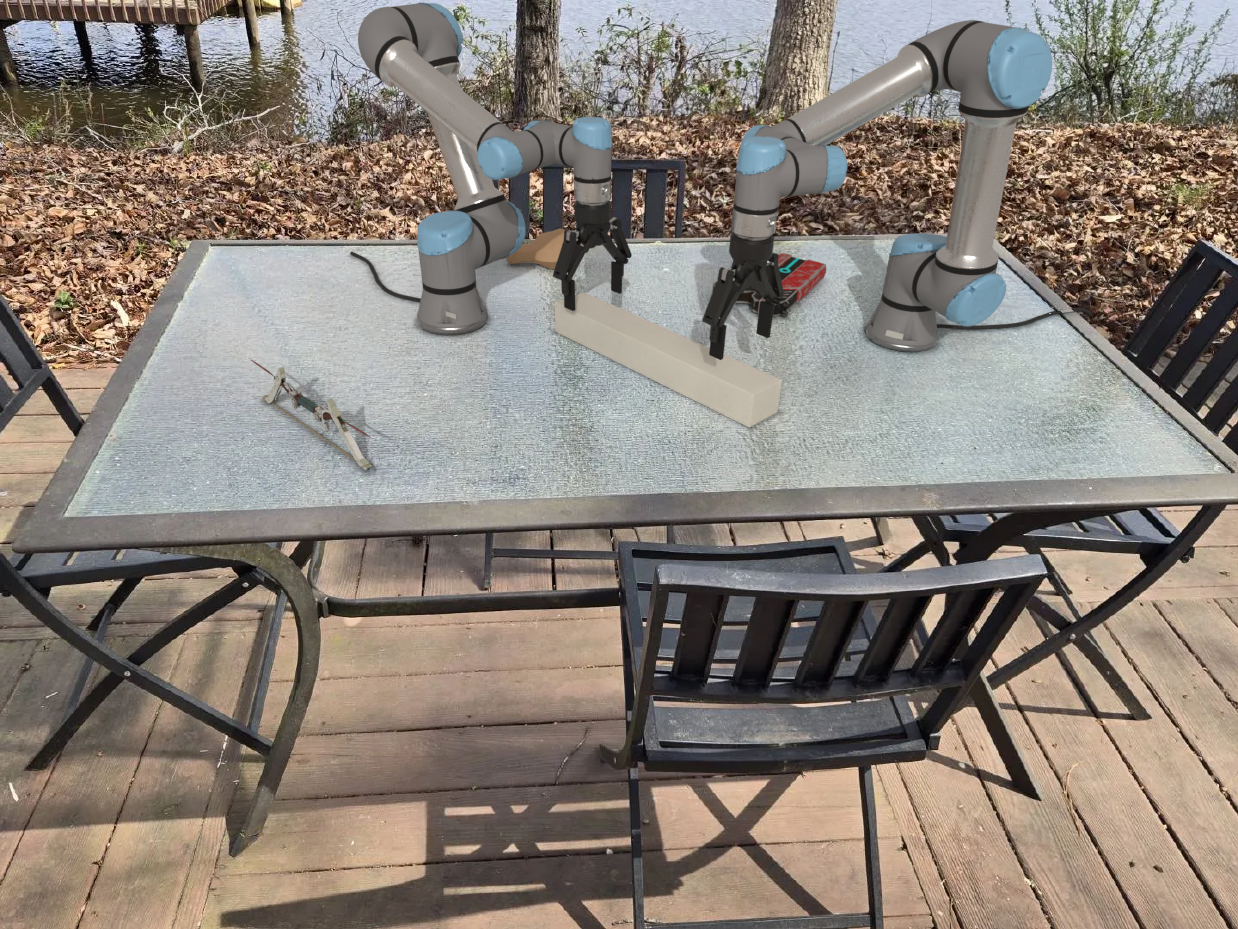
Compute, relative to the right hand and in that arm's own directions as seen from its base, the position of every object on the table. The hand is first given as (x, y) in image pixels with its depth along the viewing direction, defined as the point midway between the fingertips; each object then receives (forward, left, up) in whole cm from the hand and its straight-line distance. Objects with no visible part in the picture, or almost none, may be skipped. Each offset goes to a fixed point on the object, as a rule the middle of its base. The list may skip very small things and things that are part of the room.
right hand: (740, 346), depth 162 cm
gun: (-47, -35, -13) cm, 60 cm away
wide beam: (+2, -20, -13) cm, 24 cm away
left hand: (+4, -40, -4) cm, 40 cm away
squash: (-11, -81, -13) cm, 83 cm away
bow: (+68, -37, -13) cm, 79 cm away
